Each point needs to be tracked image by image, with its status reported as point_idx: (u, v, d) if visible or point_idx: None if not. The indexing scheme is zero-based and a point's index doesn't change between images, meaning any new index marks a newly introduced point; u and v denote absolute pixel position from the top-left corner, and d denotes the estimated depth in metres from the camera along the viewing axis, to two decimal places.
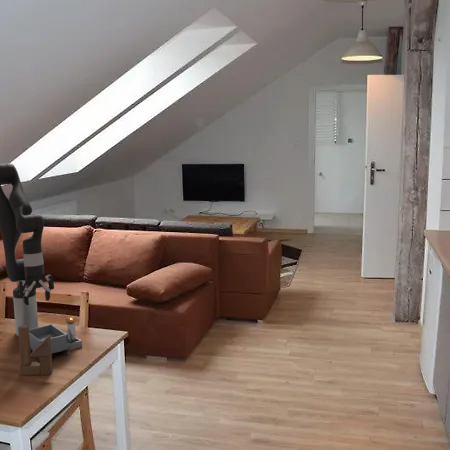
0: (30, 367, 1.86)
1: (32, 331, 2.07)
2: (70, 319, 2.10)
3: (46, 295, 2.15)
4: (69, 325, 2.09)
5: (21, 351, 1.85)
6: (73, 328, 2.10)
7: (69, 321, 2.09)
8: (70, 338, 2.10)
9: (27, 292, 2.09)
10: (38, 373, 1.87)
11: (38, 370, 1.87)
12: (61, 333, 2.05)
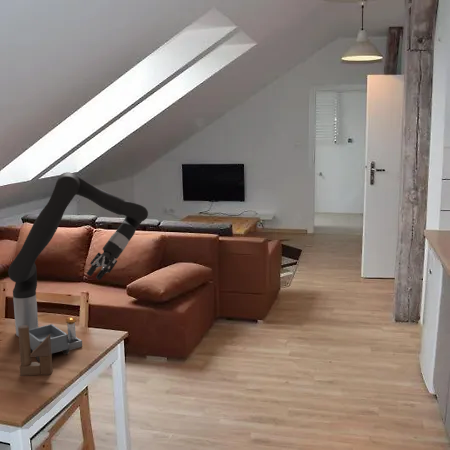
0: (30, 367, 1.86)
1: (32, 331, 2.07)
2: (70, 319, 2.10)
3: (92, 271, 2.18)
4: (69, 325, 2.09)
5: (21, 351, 1.85)
6: (73, 328, 2.10)
7: (69, 321, 2.09)
8: (70, 338, 2.10)
9: None
10: (38, 373, 1.87)
11: (38, 370, 1.87)
12: (61, 333, 2.05)
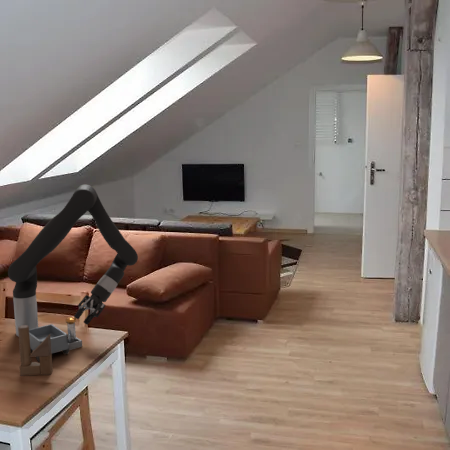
0: (30, 367, 1.86)
1: (32, 331, 2.07)
2: (70, 319, 2.10)
3: (79, 314, 2.17)
4: (69, 325, 2.09)
5: (21, 351, 1.85)
6: (73, 328, 2.10)
7: (69, 321, 2.09)
8: (70, 338, 2.10)
9: None
10: (38, 373, 1.87)
11: (38, 370, 1.87)
12: (61, 333, 2.05)
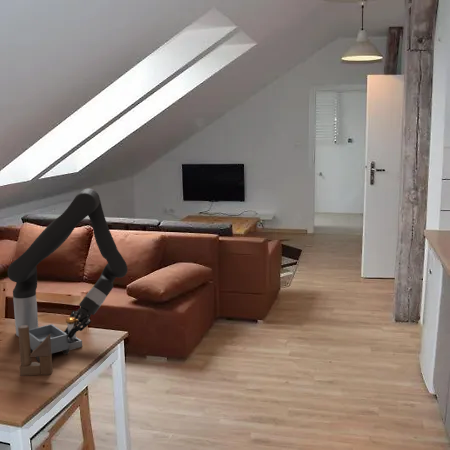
0: (30, 367, 1.86)
1: (32, 331, 2.07)
2: (70, 319, 2.10)
3: None
4: (69, 325, 2.09)
5: (21, 351, 1.85)
6: None
7: (69, 321, 2.09)
8: None
9: None
10: (38, 373, 1.87)
11: (38, 370, 1.87)
12: (61, 333, 2.05)
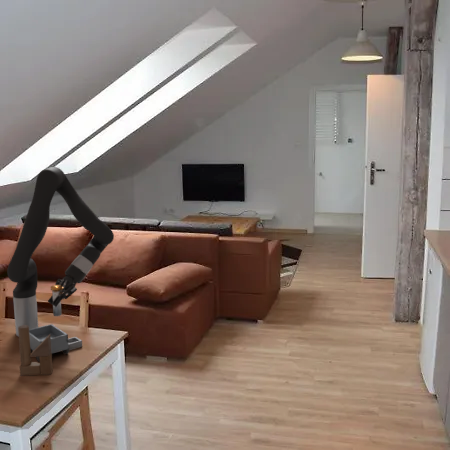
0: (30, 367, 1.86)
1: (32, 331, 2.07)
2: (55, 287, 2.04)
3: None
4: (54, 293, 2.04)
5: (21, 351, 1.85)
6: None
7: (54, 288, 2.03)
8: None
9: None
10: (38, 373, 1.87)
11: (38, 370, 1.87)
12: (61, 333, 2.05)
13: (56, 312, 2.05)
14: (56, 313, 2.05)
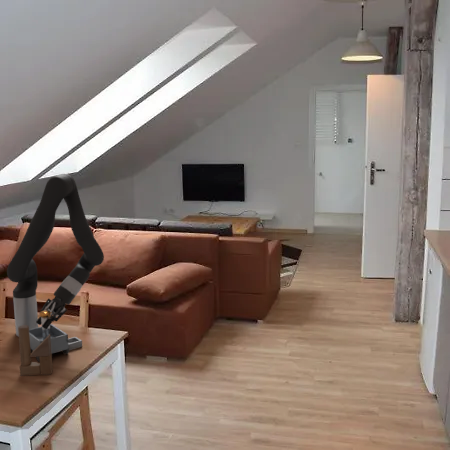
0: (30, 367, 1.86)
1: (32, 331, 2.07)
2: (44, 313, 2.02)
3: None
4: (43, 319, 2.02)
5: (21, 351, 1.85)
6: None
7: (43, 315, 2.01)
8: (44, 332, 2.03)
9: None
10: (38, 373, 1.87)
11: (38, 370, 1.87)
12: (61, 333, 2.05)
13: (45, 338, 2.03)
14: None
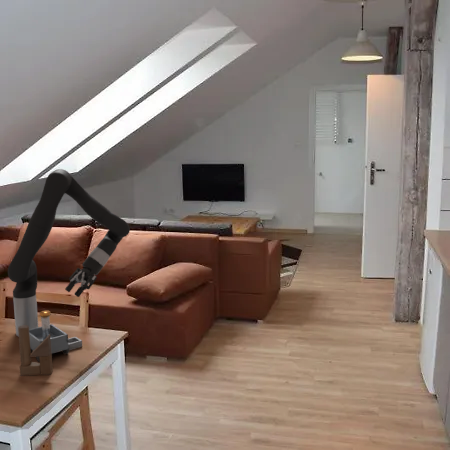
0: (30, 367, 1.86)
1: (32, 331, 2.07)
2: (44, 313, 2.02)
3: (70, 287, 2.13)
4: (43, 319, 2.02)
5: (21, 351, 1.85)
6: (47, 322, 2.02)
7: (43, 315, 2.01)
8: (44, 332, 2.03)
9: None
10: (38, 373, 1.87)
11: (38, 370, 1.87)
12: (61, 333, 2.05)
13: (45, 338, 2.03)
14: None
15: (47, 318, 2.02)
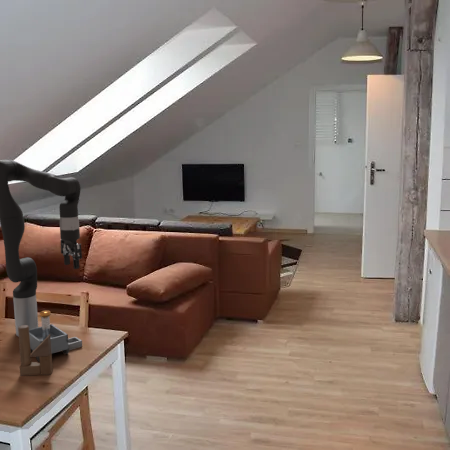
0: (30, 367, 1.86)
1: (32, 331, 2.07)
2: (44, 313, 2.02)
3: (67, 259, 2.15)
4: (43, 319, 2.02)
5: (21, 351, 1.85)
6: (47, 322, 2.03)
7: (43, 315, 2.01)
8: (44, 332, 2.03)
9: None
10: (38, 373, 1.87)
11: (38, 370, 1.87)
12: (61, 333, 2.05)
13: (45, 338, 2.03)
14: None
15: (47, 318, 2.02)
